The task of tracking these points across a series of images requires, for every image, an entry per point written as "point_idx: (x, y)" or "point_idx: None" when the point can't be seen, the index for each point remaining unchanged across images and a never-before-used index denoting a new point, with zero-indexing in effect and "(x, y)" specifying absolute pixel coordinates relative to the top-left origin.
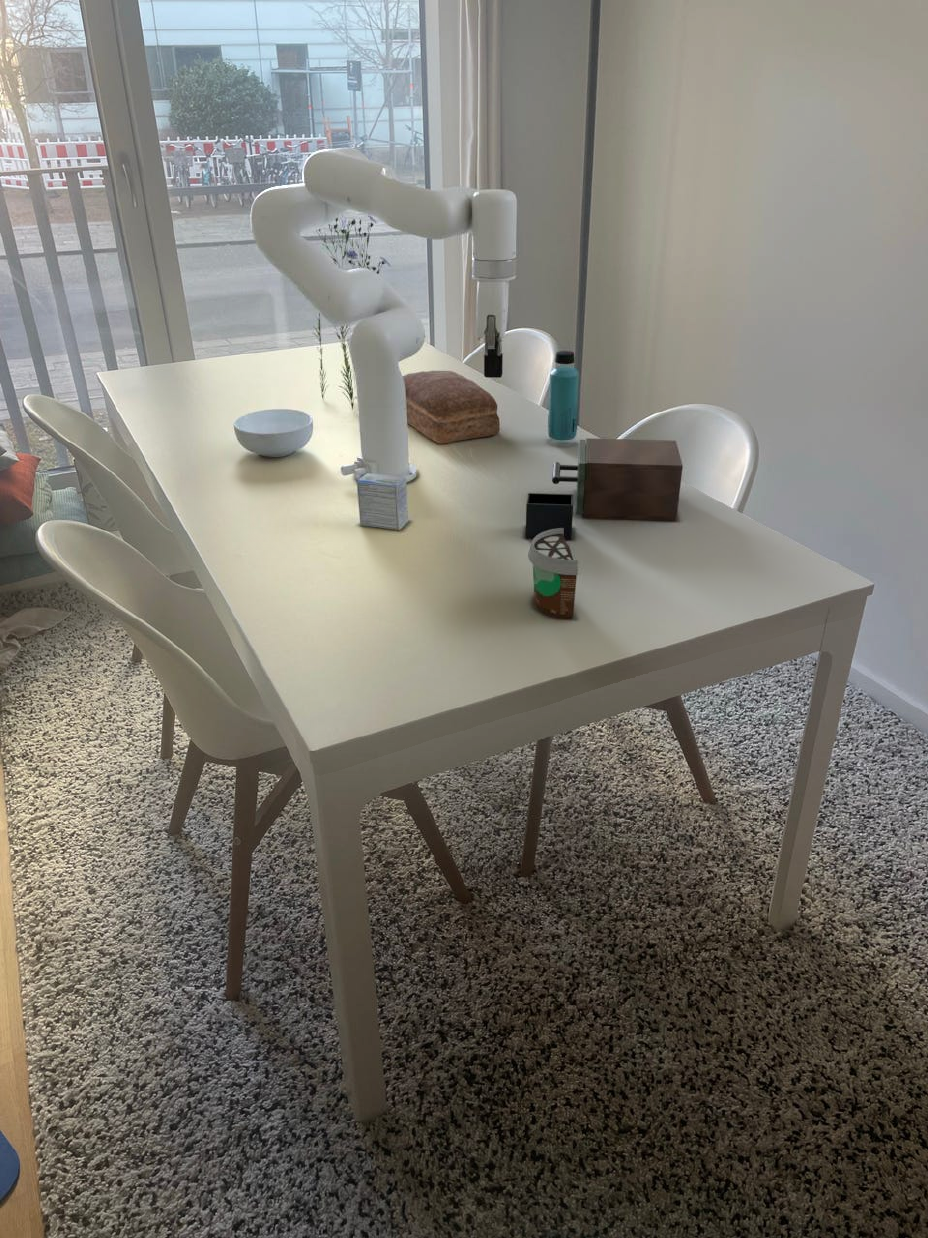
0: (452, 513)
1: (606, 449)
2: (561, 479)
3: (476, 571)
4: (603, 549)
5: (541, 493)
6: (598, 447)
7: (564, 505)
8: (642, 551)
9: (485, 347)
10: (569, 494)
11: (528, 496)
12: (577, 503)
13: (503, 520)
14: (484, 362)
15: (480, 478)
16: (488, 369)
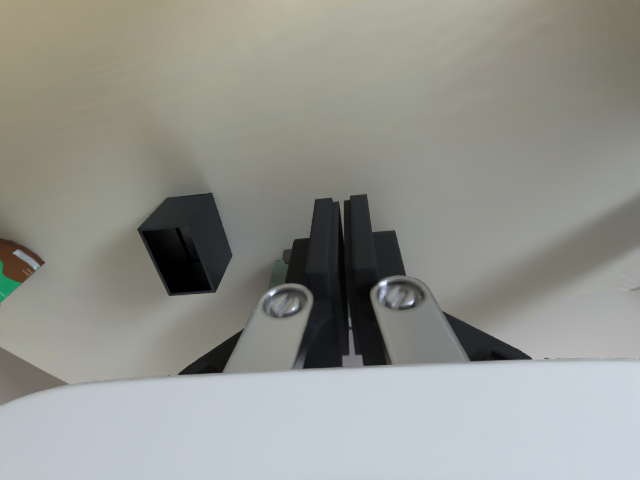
0: (218, 29)
1: (343, 357)
2: None
3: (14, 145)
4: (181, 296)
5: (196, 246)
6: (352, 346)
7: (164, 284)
8: (196, 332)
9: (240, 343)
10: (212, 287)
11: (172, 227)
12: (273, 272)
13: (223, 148)
14: (310, 242)
15: (448, 42)
16: (292, 247)
